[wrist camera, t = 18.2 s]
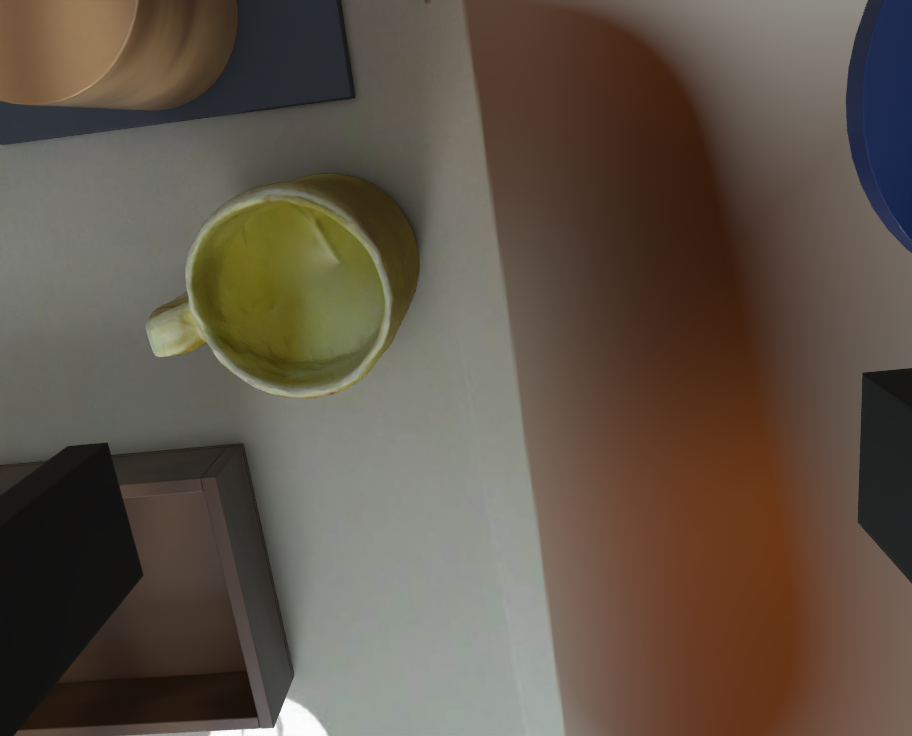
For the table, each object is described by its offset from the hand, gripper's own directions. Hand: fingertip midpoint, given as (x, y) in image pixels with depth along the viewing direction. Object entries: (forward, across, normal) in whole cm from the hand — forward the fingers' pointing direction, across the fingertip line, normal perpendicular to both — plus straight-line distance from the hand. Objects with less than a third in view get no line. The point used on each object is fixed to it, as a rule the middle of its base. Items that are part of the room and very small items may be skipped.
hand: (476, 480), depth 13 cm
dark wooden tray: (+27, -25, -17) cm, 40 cm away
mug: (+27, -10, 0) cm, 29 cm away
